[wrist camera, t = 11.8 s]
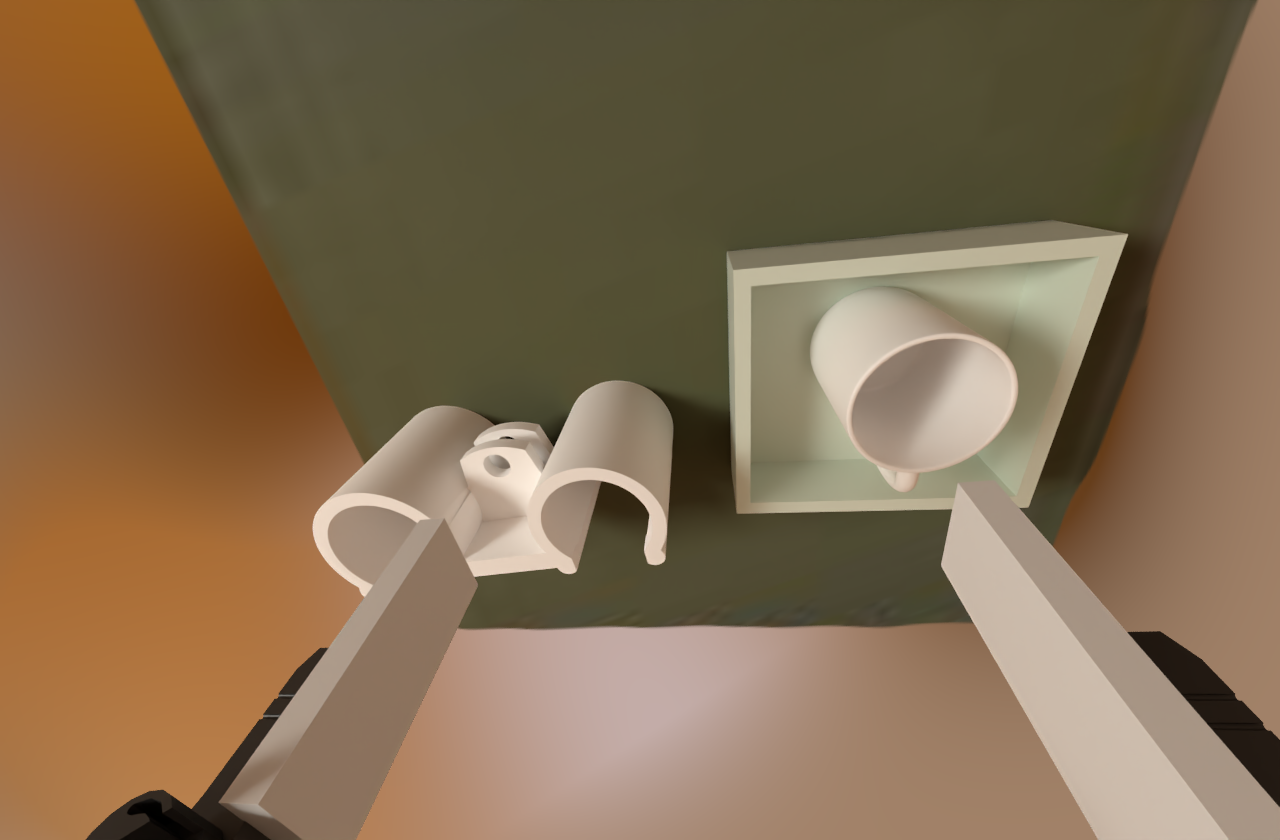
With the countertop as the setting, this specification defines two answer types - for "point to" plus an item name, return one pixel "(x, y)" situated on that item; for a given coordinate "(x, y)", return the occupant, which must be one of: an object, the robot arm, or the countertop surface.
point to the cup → (910, 382)
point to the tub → (949, 280)
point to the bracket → (503, 486)
